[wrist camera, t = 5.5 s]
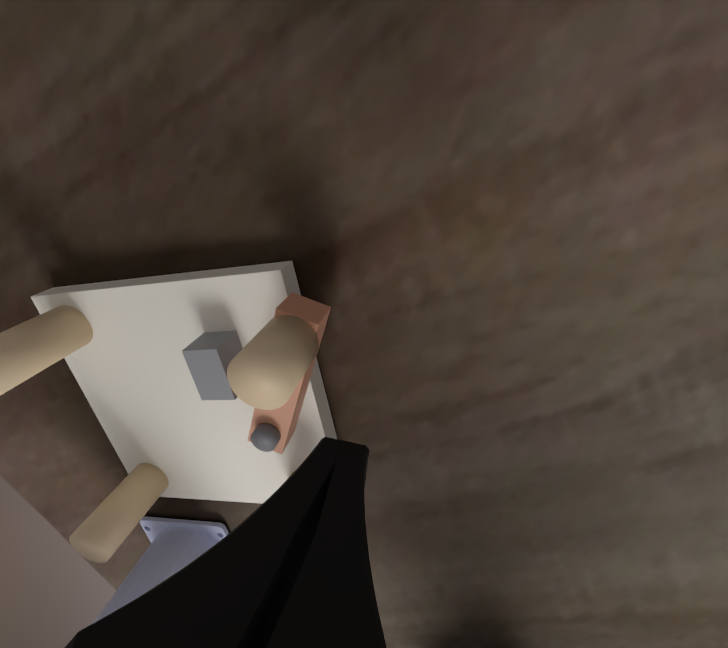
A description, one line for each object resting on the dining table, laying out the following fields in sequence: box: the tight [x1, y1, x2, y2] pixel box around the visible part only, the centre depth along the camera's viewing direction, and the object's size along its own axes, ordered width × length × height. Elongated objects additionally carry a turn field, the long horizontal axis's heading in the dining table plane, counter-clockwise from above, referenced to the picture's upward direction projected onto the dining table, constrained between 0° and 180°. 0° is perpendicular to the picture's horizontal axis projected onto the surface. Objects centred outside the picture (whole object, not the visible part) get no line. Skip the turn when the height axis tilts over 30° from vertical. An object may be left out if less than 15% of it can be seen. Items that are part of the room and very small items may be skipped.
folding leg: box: [227, 292, 331, 454], centre depth 19 cm, size 8×3×5 cm, turn 163°
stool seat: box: [0, 261, 337, 563], centre depth 23 cm, size 16×16×7 cm
